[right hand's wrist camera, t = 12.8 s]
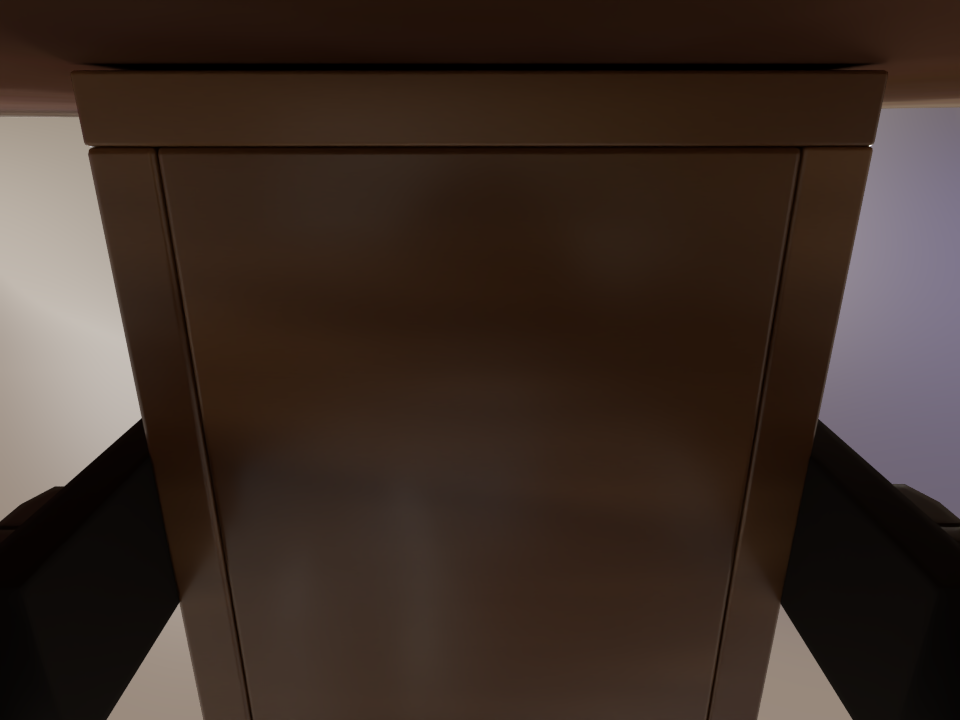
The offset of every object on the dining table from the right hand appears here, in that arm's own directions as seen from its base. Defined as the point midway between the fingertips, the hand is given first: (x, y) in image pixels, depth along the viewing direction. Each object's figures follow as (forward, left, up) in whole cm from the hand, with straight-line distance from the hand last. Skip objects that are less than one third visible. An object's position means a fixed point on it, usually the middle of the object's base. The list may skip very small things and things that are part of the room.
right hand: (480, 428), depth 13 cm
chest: (+2, -3, -7) cm, 8 cm away
